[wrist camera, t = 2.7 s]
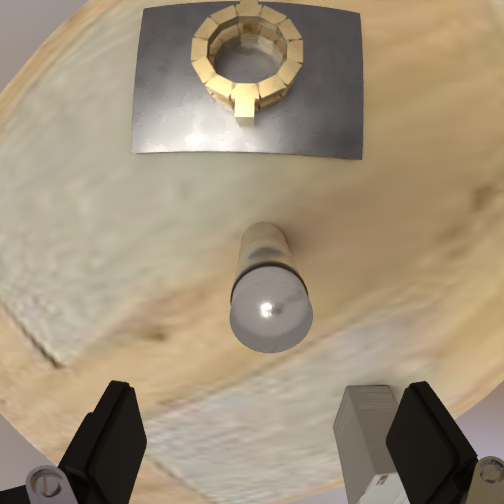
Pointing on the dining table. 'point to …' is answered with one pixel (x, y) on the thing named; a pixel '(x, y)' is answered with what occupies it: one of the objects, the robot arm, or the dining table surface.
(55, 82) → the dining table surface
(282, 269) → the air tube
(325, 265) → the dining table surface
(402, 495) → the skincare box
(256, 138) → the collar stand
